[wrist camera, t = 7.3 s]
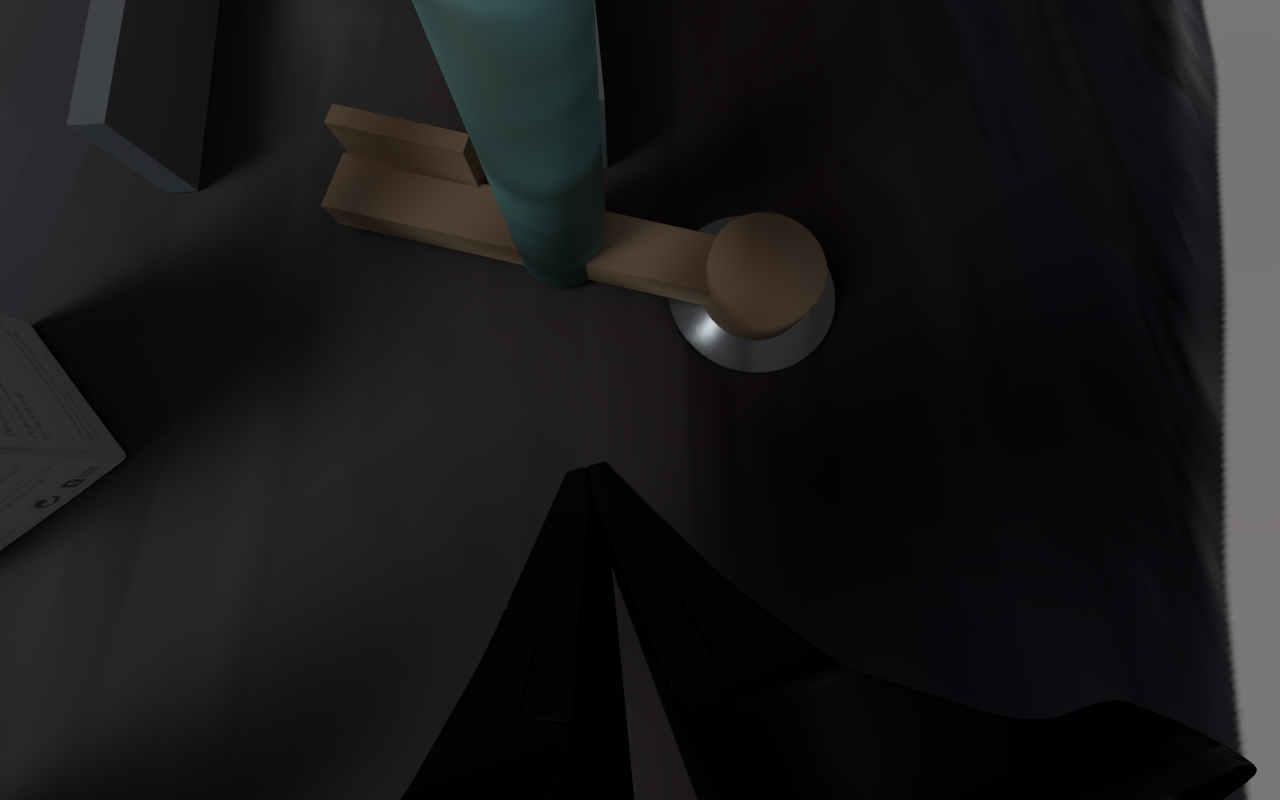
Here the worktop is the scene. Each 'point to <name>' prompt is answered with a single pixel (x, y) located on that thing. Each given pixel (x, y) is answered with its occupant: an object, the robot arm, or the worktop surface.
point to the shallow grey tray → (160, 86)
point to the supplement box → (43, 434)
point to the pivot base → (752, 353)
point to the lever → (551, 176)
